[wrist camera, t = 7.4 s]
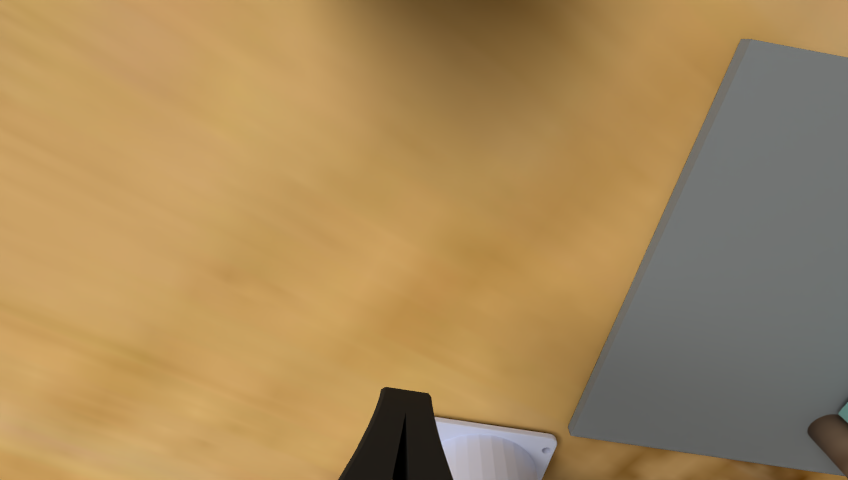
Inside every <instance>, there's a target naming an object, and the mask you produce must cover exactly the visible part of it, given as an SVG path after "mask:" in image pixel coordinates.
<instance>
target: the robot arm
mask: <svg viewBox="0 0 848 480" xmlns="http://www.w3.org/2000/svg"><path fill="white" fill-rule="evenodd" d="M556 446H557V441H556V438H555V436H554V435H552V434H548V433H541V432H534V431H527V430H521V429H514V428H507V427H500V426H494V425H487V424H480V423H473V422H467V421H460V420H453V419H446V418H440V417H434V412H433V407H432V400H431V396H430V395H429V394H428V393H422V392H416V391H409V390H402V389H396V388H389V387H385V388H383V389H381V393H380V397H379V400H378V403H377V406H376V409H375V411H374V414H373V416H372V418H371V421H370V423H369V425H368V427H367V429H366V431H365V433H364V435H363V437H362V439H361V441H360V443H359V445H358V447H357V449H356V451H355V452H354V454H353V456H352V458H351V459H350V461H349V463H348V464H347V466H346V468H345V469H344V471H343V473H342V474H341V476H340V478H339V479H338V480H542V478H543V475H544V473H545V471H546V469H547V466H548V464H549V462H550V460H551V457H552V455H553V453H554V451H555V448H556ZM545 447H546V448H545Z"/></svg>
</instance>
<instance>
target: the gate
mask: <svg viewBox="0 0 848 480" xmlns="http://www.w3.org/2000/svg"><path fill="white" fill-rule="evenodd" d="M838 414H839V415H840V416H841V417H842V418H843V419H844V420H845V421H846V422H847V423H848V402H847V404H846V405H845V406H844V407H843V408H842V409H841V411H840V412H839V413H838Z"/></svg>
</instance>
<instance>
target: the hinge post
mask: <svg viewBox="0 0 848 480" xmlns="http://www.w3.org/2000/svg"><path fill="white" fill-rule="evenodd" d="M807 433H808V435H809V436H810V437H811V438H812V440H813V441H814V442H815V443H816V444H817V445H818V446H819V447H820V448H821V449H822V451H823V452H824V453H825V454H826V455H827V456H828V457H829V458H830V459H831V460H832V462H833V463H834V464H835V465H836V466H837V467H838V468H839V469H840V470H841V471H842V473H843V474H844V475H845V476H846V477H847V478H848V423H847V422H846V421H845V420H844V419H843V418H842V417H841V416H840V415H838V414H830V415H825V416H822V417H820V418H818V419H816V420H815V421H813V422H812V423H811V424H810V425H809V427H808V430H807Z"/></svg>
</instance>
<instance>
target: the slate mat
mask: <svg viewBox="0 0 848 480" xmlns="http://www.w3.org/2000/svg"><path fill="white" fill-rule="evenodd" d="M847 402H848V58H847V57H841V56H836V55H831V54H826V53H820V52H815V51H810V50H805V49H799V48H794V47H789V46H784V45H778V44H773V43H768V42H763V41H757V40H752V39H741V41H740V43H739V45H738V47H737V50H736V52H735V54H734V56H733V58H732V61H731V63H730V65H729V67H728V70H727V72H726V74H725V76H724V79H723V81H722V83H721V85H720V88H719V90H718V92H717V94H716V97H715V99H714V101H713V103H712V105H711V108H710V110H709V112H708V114H707V117H706V119H705V121H704V123H703V126H702V128H701V130H700V132H699V135H698V137H697V139H696V141H695V144H694V146H693V148H692V150H691V152H690V155H689V157H688V159H687V161H686V164H685V166H684V168H683V170H682V173H681V175H680V177H679V179H678V182H677V184H676V186H675V188H674V191H673V193H672V195H671V197H670V199H669V202H668V204H667V206H666V208H665V211H664V213H663V215H662V217H661V220H660V222H659V224H658V226H657V229H656V231H655V233H654V235H653V238H652V240H651V242H650V244H649V246H648V249H647V251H646V253H645V255H644V258H643V260H642V262H641V264H640V267H639V269H638V271H637V273H636V276H635V278H634V280H633V282H632V285H631V287H630V289H629V291H628V294H627V296H626V298H625V300H624V302H623V305H622V307H621V309H620V311H619V314H618V316H617V318H616V320H615V323H614V325H613V327H612V329H611V332H610V334H609V336H608V338H607V341H606V343H605V345H604V347H603V349H602V352H601V354H600V356H599V358H598V361H597V363H596V365H595V367H594V370H593V372H592V374H591V376H590V379H589V381H588V383H587V385H586V388H585V390H584V392H583V394H582V396H581V399H580V401H579V403H578V405H577V408H576V410H575V412H574V414H573V417H572V419H571V421H570V423H569V426H568V429H569V432H570V435H571V436H577V437H584V438H591V439H598V440H604V441H611V442H618V443H625V444H631V445H638V446H645V447H652V448H658V449H665V450H672V451H679V452H685V453H692V454H699V455H706V456H712V457H719V458H726V459H733V460H739V461H746V462H753V463H760V464H766V465H773V466H780V467H787V468H793V469H800V470H807V471H814V472H820V473H827V474H834V475H841V476H845V475H844V474H843V473H842V471H841V470H840V469H839V468H838V467H837V466H836V465H835V464H834V463H833V462H832V460H831V459H830V458H829V457H828V456H827V455H826V454H825V453H824V452H823V451H822V449H821V448H820V447H819V446H818V445H817V444H816V443H815V442H814V441H813V440H812V438H811V437H810V436H809V435H808V433H807V430H808V427H809V425H810V424H811V423H812V422H813V421H815V420H816V419H818V418H820V417H822V416H825V415H830V414H838V413H839V412H840V411H841V409H842V408H843V407H844V406H845V405H846V404H847ZM838 415H839V414H838Z"/></svg>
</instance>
